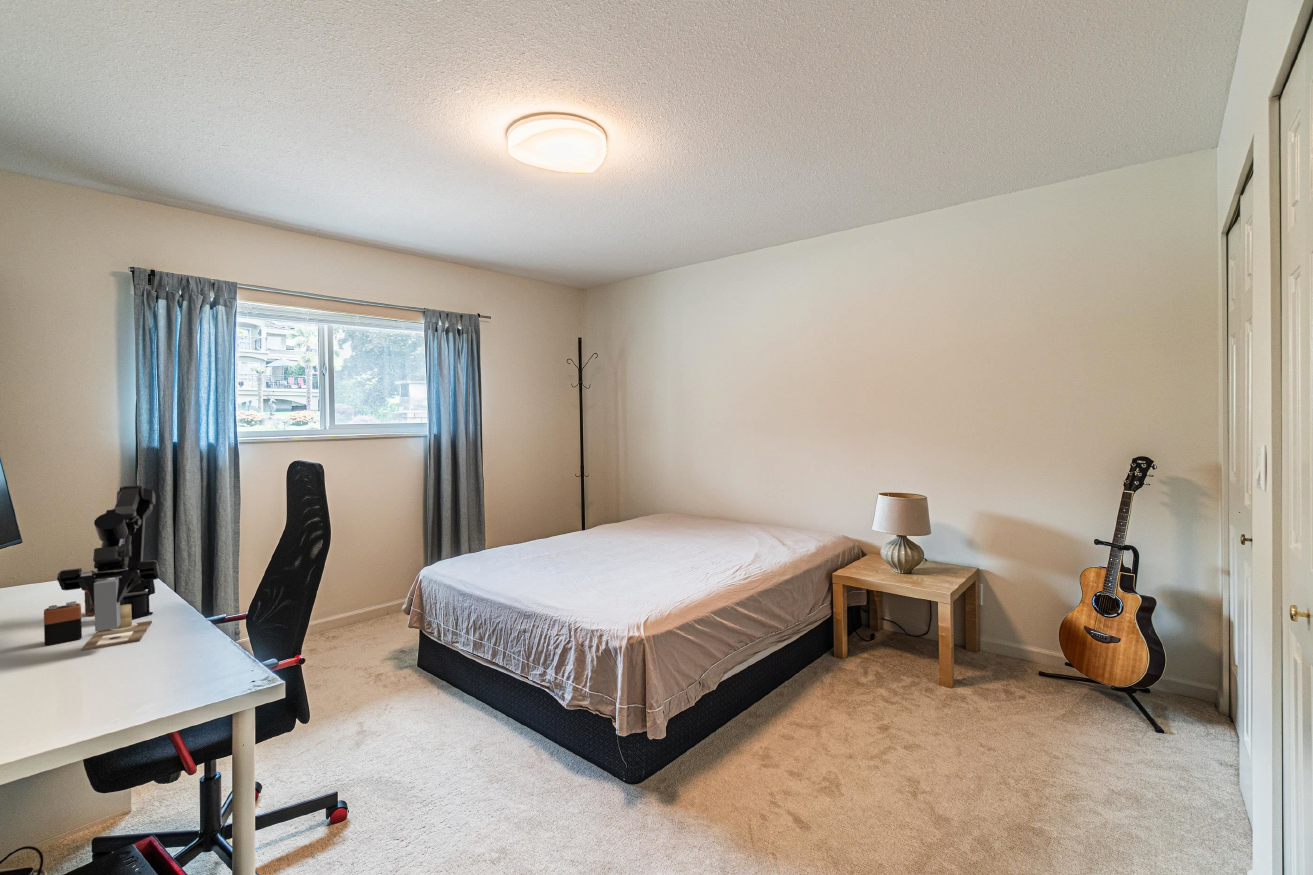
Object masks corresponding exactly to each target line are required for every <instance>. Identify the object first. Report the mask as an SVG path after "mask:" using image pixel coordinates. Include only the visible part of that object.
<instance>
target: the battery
mask: <svg viewBox="0 0 1313 875" xmlns="http://www.w3.org/2000/svg"><path fill="white" fill-rule="evenodd" d="M82 626H83V625H82V605H81V603H80V602H79V603H77V601H76V600H75V601H69V602H65V604H64V605H59V606H58V605H57V604H53V605H49V606H48V607H47V608H45V609H44V610H43V633H44V637H43V638H44V647H45V646H46V647H48V646H53V645H59V644H64V643H68V642H73V641H79V640H81V639H82V638H83V632H82V630H83V629H82V628H83V627H82Z"/></svg>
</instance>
